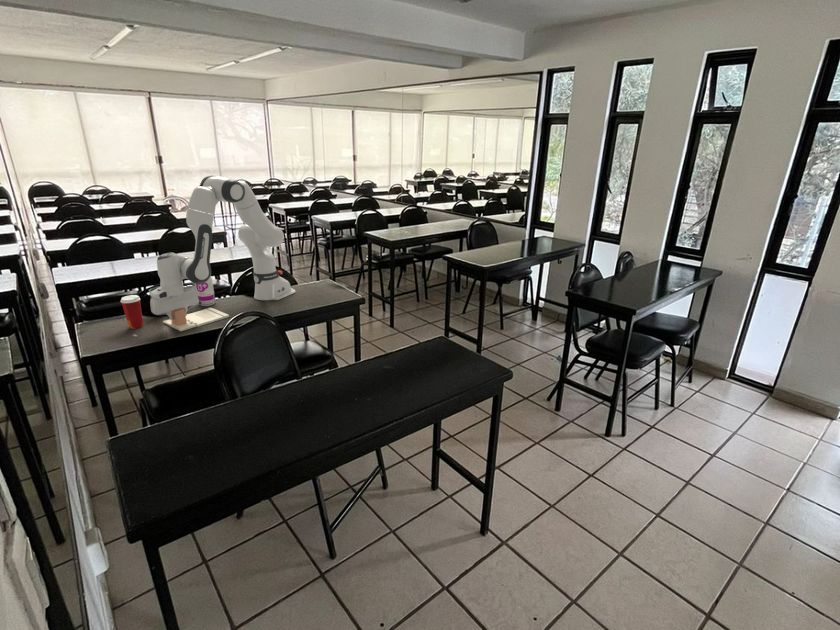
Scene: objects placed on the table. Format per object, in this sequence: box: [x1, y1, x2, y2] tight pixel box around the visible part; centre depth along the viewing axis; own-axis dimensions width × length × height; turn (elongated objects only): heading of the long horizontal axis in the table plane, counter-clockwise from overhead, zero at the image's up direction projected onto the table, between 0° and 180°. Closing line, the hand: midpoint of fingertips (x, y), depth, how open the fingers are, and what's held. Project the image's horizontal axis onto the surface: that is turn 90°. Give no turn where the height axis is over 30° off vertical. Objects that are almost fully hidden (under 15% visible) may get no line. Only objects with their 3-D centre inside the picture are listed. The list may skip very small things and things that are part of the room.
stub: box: [162, 308, 197, 332], centre depth 211 cm, size 7×16×8 cm, turn 53°
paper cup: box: [119, 294, 144, 330], centre depth 208 cm, size 8×8×14 cm
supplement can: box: [194, 276, 216, 307], centre depth 236 cm, size 8×8×15 cm
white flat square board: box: [186, 307, 230, 327], centre depth 221 cm, size 16×16×1 cm
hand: (178, 318), depth 211 cm, fingers closed on stub, 4 cm apart
